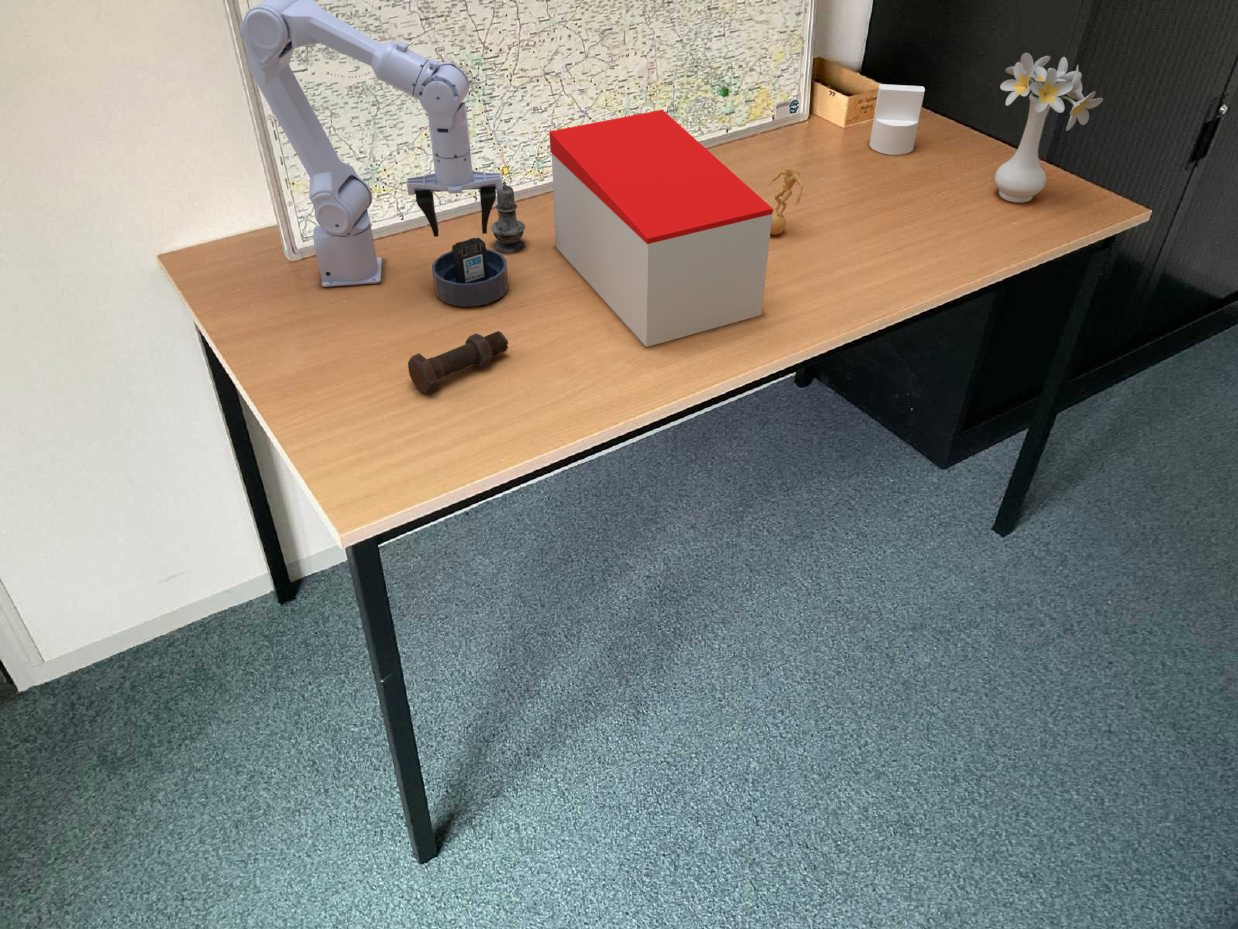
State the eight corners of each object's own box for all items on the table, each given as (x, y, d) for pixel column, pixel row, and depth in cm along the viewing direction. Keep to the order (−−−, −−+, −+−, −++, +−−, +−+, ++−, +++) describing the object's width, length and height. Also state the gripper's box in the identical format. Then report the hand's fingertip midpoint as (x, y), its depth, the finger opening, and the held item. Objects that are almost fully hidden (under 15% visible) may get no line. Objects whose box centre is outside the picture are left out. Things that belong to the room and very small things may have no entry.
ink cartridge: (462, 294, 163) (457, 250, 158) (456, 288, 165) (451, 244, 160) (489, 285, 165) (485, 241, 160) (483, 279, 167) (478, 235, 162)
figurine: (750, 226, 182) (756, 163, 174) (777, 218, 184) (784, 155, 176) (778, 245, 176) (785, 181, 169) (805, 237, 179) (814, 173, 171)
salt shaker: (521, 255, 174) (516, 190, 166) (488, 251, 175) (482, 187, 167) (530, 239, 178) (525, 175, 171) (498, 236, 179) (492, 172, 171)
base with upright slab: (869, 153, 206) (879, 94, 198) (868, 135, 212) (878, 78, 205) (914, 156, 205) (926, 97, 197) (912, 138, 211) (923, 80, 203)
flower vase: (1044, 224, 182) (1085, 86, 166) (958, 190, 193) (989, 56, 176) (1082, 203, 189) (1126, 67, 172) (997, 170, 199) (1030, 40, 183)
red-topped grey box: (658, 222, 183) (661, 108, 170) (761, 314, 159) (774, 191, 146) (554, 246, 176) (548, 130, 163) (645, 347, 152) (647, 221, 139)
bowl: (435, 311, 160) (432, 287, 157) (435, 273, 169) (431, 249, 166) (510, 305, 162) (508, 281, 159) (506, 268, 171) (504, 244, 168)
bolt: (507, 363, 152) (422, 400, 145) (489, 337, 153) (404, 372, 146) (517, 343, 147) (430, 380, 140) (499, 316, 148) (411, 351, 141)
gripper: (402, 164, 148) (414, 247, 157) (500, 159, 150) (507, 241, 159) (403, 144, 154) (415, 225, 162) (498, 139, 155) (504, 220, 164)
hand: (460, 232), depth 161 cm, fingers open, 7 cm apart
